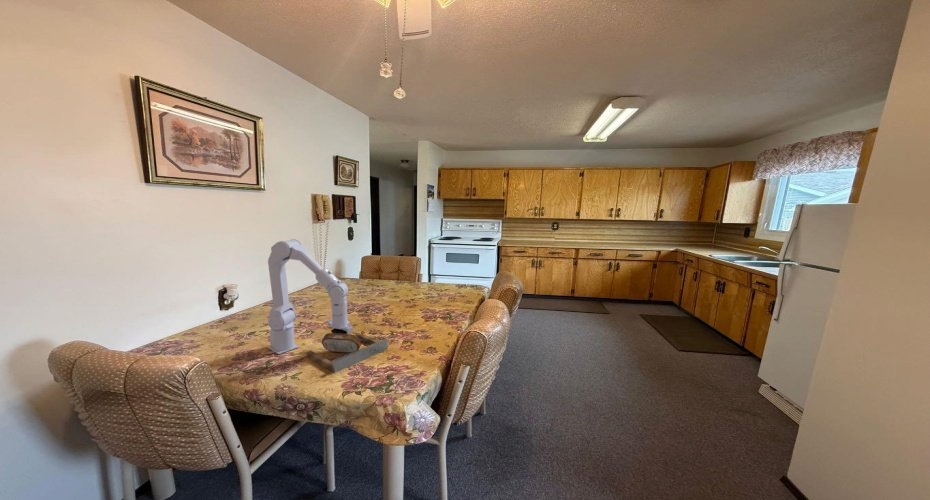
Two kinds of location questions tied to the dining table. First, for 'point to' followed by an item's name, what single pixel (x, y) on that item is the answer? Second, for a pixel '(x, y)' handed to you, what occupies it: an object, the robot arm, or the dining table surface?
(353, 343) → the tin
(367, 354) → the grey u-shaped bracket
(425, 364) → the dining table surface
